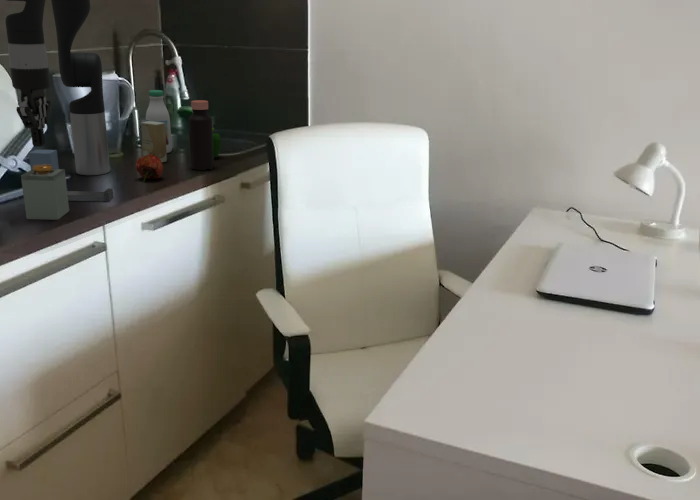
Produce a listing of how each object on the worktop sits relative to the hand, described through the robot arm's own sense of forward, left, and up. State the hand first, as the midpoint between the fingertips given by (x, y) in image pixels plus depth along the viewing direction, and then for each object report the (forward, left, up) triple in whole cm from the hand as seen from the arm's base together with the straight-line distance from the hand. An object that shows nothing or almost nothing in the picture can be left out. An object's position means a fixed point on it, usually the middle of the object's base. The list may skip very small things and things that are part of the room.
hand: (39, 145), depth 151 cm
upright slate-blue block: (-14, -5, -16) cm, 22 cm away
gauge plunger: (0, 0, -12) cm, 12 cm away
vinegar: (-51, +27, -16) cm, 60 cm away
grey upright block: (0, 0, -16) cm, 16 cm away
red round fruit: (-36, +15, -16) cm, 42 cm away
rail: (-14, 0, -16) cm, 21 cm away
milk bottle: (-74, +9, -16) cm, 76 cm away
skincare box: (-59, +11, -16) cm, 62 cm away
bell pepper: (-66, +26, -16) cm, 73 cm away
